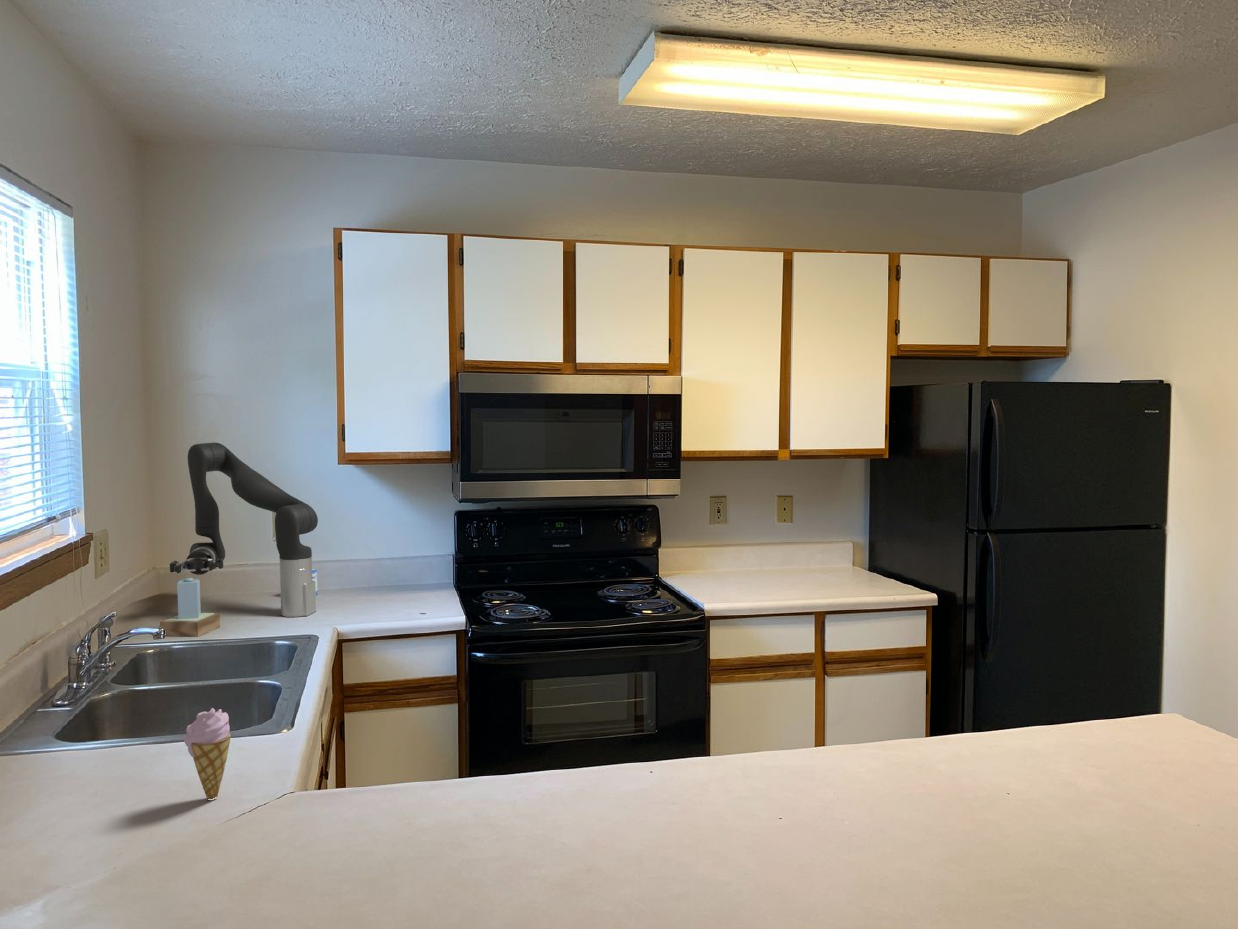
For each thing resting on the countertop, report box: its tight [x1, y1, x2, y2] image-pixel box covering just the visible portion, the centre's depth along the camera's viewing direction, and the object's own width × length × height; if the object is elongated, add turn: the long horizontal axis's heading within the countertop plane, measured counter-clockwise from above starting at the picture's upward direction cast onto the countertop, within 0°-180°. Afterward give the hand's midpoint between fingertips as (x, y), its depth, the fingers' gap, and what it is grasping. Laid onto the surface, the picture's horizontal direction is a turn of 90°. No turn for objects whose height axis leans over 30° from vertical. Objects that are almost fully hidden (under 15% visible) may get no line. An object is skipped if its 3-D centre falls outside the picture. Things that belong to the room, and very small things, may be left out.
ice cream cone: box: [183, 707, 232, 799], centre depth 141 cm, size 7×6×15 cm
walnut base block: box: [159, 612, 221, 638], centre depth 248 cm, size 11×11×4 cm
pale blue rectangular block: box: [176, 577, 202, 619], centre depth 248 cm, size 5×5×11 cm
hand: (194, 568), depth 257 cm, fingers open, 8 cm apart
